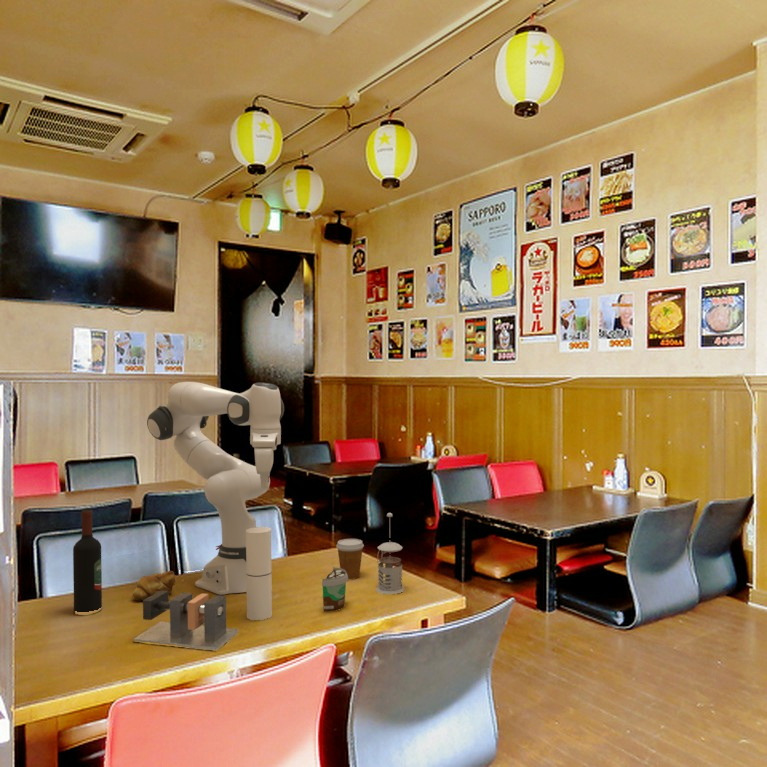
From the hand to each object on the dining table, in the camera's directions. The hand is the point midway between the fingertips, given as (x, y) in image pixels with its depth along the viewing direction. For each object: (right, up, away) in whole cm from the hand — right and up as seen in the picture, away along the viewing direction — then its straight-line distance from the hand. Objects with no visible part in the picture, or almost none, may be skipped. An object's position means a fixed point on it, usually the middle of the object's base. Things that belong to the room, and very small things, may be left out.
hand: (265, 485), depth 183 cm
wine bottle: (-53, -38, +3) cm, 66 cm away
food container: (+21, -38, +4) cm, 43 cm away
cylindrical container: (-1, -38, -3) cm, 38 cm away
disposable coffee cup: (+23, -37, +33) cm, 55 cm away
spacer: (-14, -34, -18) cm, 41 cm away
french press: (+37, -37, +20) cm, 56 cm away
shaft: (-18, -32, -17) cm, 41 cm away
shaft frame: (-18, -38, -17) cm, 45 cm away
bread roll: (-38, -38, +15) cm, 56 cm away
